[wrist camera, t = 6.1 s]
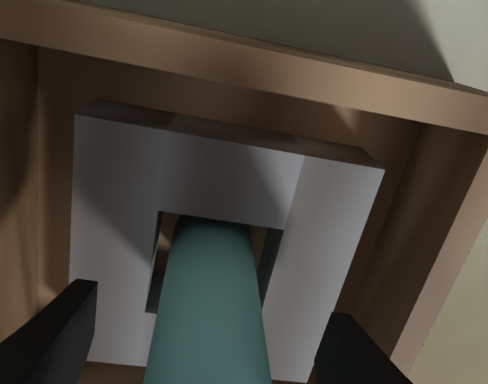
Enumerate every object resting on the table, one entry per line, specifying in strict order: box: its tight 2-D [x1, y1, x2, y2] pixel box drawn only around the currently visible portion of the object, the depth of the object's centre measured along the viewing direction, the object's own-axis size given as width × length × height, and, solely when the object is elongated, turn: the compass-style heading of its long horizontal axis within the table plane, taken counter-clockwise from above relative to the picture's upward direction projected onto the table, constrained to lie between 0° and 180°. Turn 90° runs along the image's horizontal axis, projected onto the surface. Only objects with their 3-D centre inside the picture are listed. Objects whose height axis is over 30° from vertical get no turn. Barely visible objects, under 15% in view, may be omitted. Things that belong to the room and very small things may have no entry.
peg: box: [143, 214, 272, 384], centre depth 13 cm, size 3×3×9 cm
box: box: [0, 0, 488, 384], centre depth 15 cm, size 16×16×4 cm
